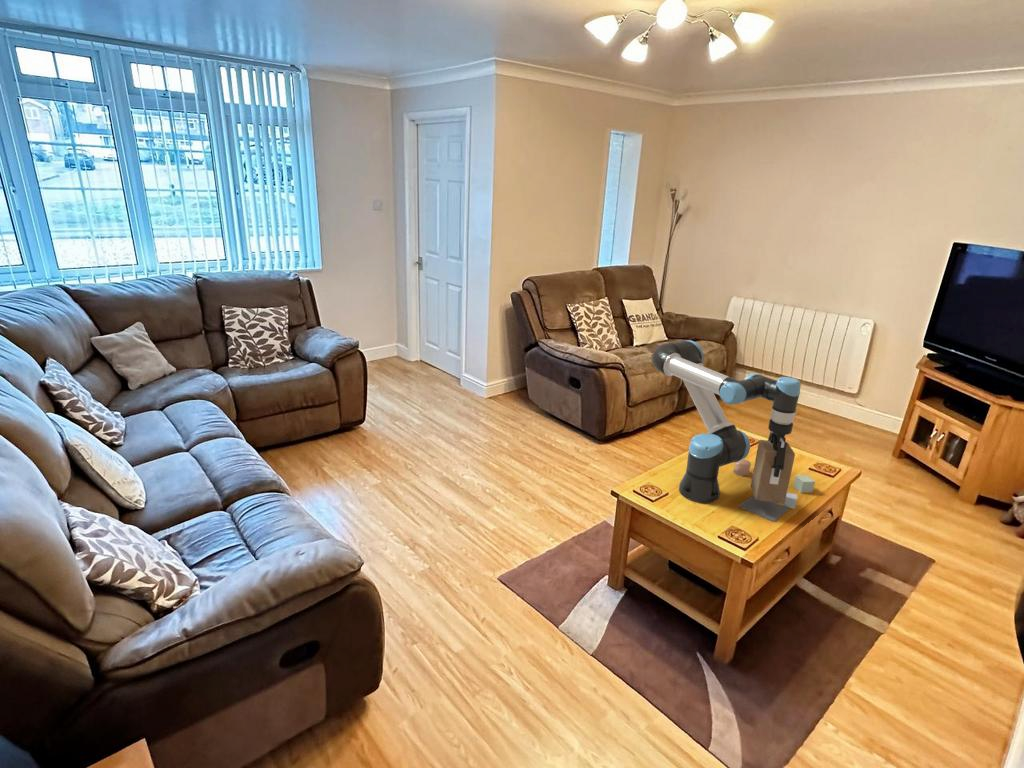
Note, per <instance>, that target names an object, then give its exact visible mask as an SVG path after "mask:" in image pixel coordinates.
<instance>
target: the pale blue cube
mask: <svg viewBox="0 0 1024 768" xmlns="http://www.w3.org/2000/svg"><path fill="white" fill-rule="evenodd" d="M797 502H798V494H795V493H791V492H788V491H787V494H786V499H785V503H783V505H784V506H786V507H788V508H789V509H790V508H791V509H795V510H796V507H797V506H796V505H797Z"/></svg>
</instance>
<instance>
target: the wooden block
mask: <svg viewBox="0 0 1024 768" xmlns="http://www.w3.org/2000/svg"><path fill="white" fill-rule="evenodd" d="M776 447H778V446H776ZM756 449H757V451H756V455H755V461H754V466H753V470H752V471H753V473H752V477H751V481H750V482H751V483H750V488H751V491H752V493H753V495H754V496H755V498H756V500H762V501H771V502H776V503H779V504H782V503H783V504H784V503H785V499H786V494H787V492H788V488H789V484H790V479H791V476H792V471H793V465H794V461H795V456H796V454H795V452H794V450H793V449H792V447H791V446H790V444H789V443H788V442H787V446H786V451H785V460H784V469H783V470H781V472H780V477H779V482H778V485H777V484H770V483H769V482H770V477H771V472H772V468H771V466H774V459H775V456H776V455H777V451H775V449H774V448H773V443H771V442H770V441H768V439H767V440H765V439H759V440H758V444H757V448H756Z"/></svg>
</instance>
